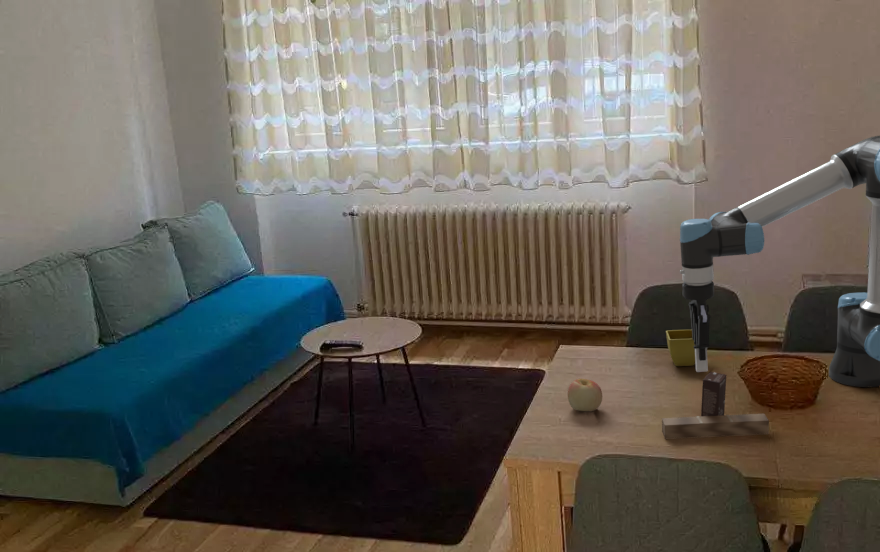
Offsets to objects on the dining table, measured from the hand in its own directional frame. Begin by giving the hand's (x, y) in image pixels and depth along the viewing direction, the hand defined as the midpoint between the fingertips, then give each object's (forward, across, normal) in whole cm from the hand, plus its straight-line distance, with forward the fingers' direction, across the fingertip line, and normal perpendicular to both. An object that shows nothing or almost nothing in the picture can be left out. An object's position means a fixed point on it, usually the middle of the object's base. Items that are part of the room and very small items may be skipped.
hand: (701, 370), depth 220 cm
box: (+10, +11, 0) cm, 15 cm away
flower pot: (+10, -30, +1) cm, 32 cm away
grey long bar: (+9, +17, -1) cm, 19 cm away
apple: (+9, 0, -30) cm, 31 cm away
